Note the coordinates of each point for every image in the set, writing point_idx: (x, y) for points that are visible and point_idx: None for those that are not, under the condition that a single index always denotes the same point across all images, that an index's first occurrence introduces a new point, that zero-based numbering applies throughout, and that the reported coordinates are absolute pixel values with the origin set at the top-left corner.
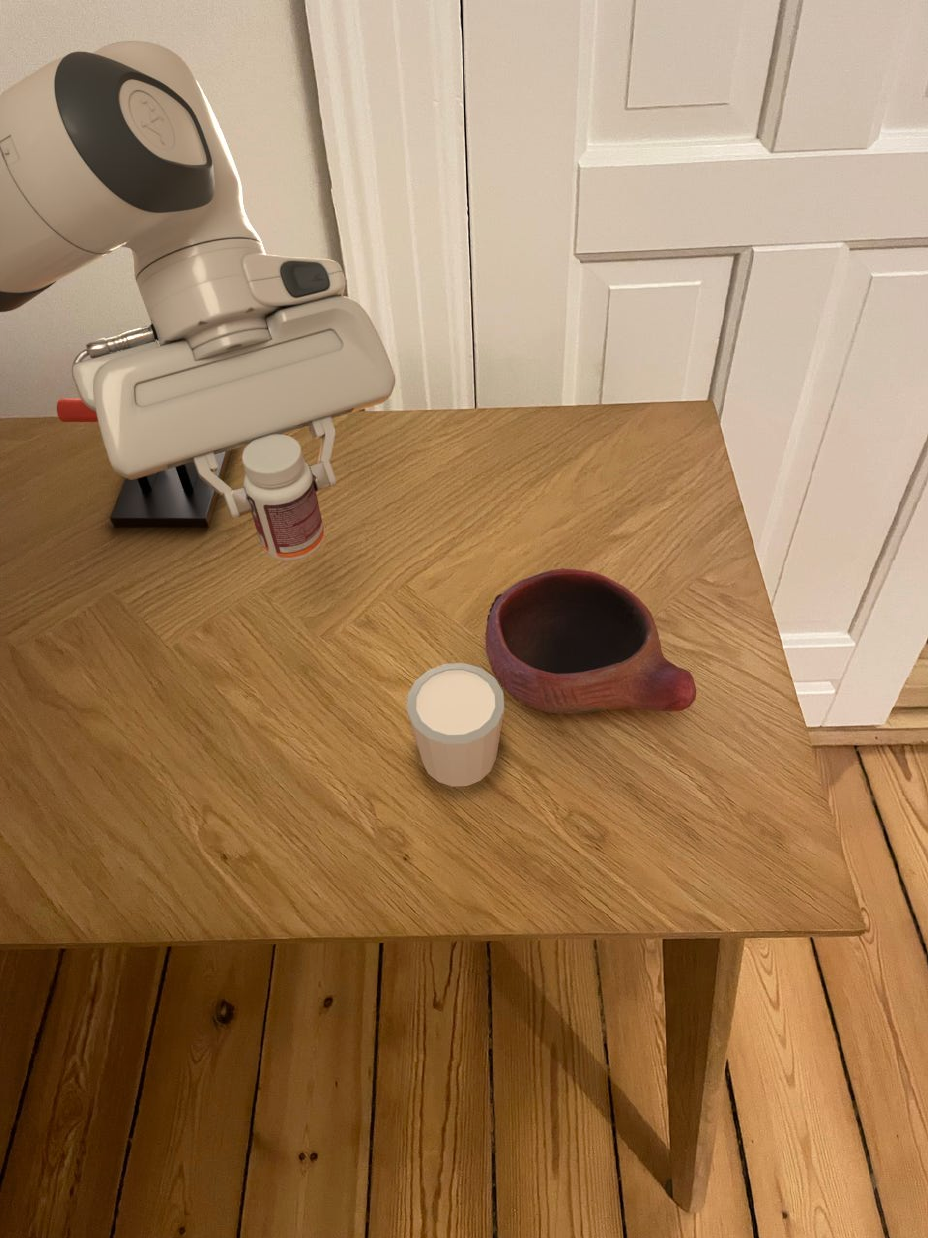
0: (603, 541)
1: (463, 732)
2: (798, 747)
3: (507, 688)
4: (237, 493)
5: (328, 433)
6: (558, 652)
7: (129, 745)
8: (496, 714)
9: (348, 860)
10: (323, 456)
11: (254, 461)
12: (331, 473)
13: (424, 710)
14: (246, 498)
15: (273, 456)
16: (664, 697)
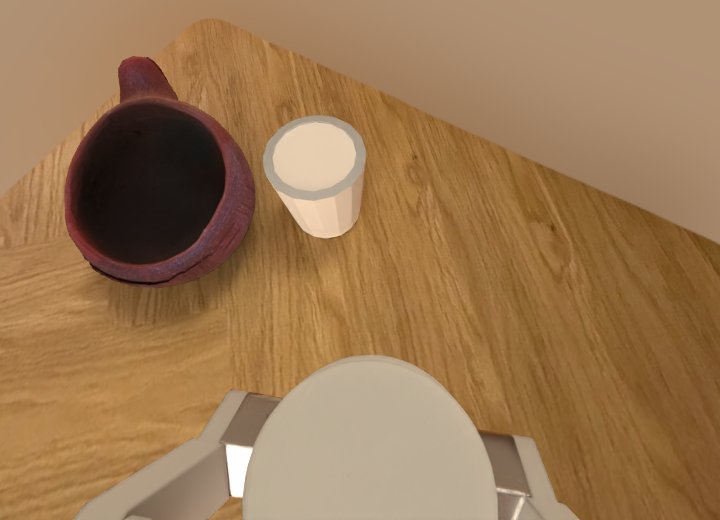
0: (17, 346)
1: (328, 126)
2: (119, 91)
3: (254, 188)
4: (509, 481)
5: (114, 509)
6: (180, 236)
7: (626, 398)
8: (290, 125)
9: (456, 176)
10: (203, 452)
11: (453, 481)
12: (225, 404)
13: (346, 162)
14: None
15: (371, 462)
16: (157, 73)
